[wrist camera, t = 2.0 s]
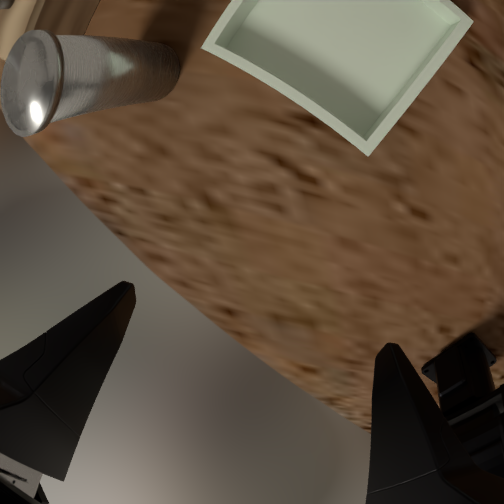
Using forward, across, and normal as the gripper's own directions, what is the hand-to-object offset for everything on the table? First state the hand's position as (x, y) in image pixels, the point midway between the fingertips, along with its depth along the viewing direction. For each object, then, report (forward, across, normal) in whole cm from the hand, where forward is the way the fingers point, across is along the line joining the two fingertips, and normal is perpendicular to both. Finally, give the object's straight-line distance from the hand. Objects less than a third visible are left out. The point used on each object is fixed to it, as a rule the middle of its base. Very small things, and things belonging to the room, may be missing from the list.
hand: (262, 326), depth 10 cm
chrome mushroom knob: (+14, +11, -6) cm, 19 cm away
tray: (+13, -1, -11) cm, 17 cm away
